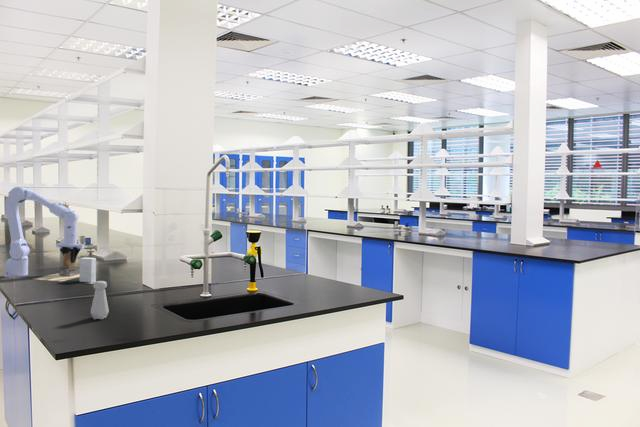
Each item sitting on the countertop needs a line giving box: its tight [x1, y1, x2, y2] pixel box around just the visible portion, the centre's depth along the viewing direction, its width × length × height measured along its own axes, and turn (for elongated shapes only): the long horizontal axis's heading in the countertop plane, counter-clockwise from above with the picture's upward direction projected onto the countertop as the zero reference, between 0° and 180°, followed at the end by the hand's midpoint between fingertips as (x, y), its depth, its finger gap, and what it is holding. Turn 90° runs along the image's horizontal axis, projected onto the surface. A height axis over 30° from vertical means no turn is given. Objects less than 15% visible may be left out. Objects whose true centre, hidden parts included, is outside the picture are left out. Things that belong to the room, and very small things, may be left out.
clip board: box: [33, 268, 80, 282], centre depth 245 cm, size 16×22×3 cm
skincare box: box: [78, 257, 97, 285], centre depth 236 cm, size 6×4×12 cm
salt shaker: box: [90, 280, 110, 320], centre depth 174 cm, size 6×6×13 cm
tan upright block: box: [62, 253, 76, 269], centre depth 249 cm, size 3×4×7 cm, turn 169°
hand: (70, 262), depth 250 cm, fingers closed on tan upright block, 3 cm apart
